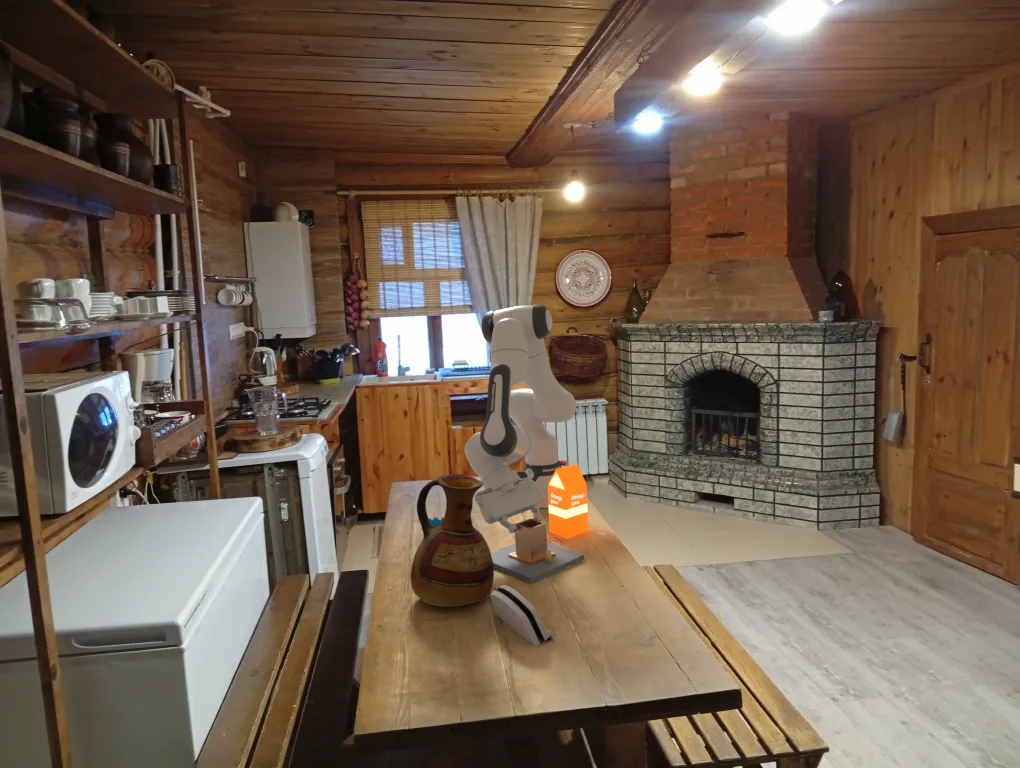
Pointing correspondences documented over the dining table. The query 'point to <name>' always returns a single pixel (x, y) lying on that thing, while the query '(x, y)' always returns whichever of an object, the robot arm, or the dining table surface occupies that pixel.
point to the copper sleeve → (530, 542)
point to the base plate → (539, 569)
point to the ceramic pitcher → (452, 549)
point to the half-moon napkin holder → (519, 614)
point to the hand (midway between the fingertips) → (527, 526)
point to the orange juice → (568, 502)
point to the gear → (435, 521)
